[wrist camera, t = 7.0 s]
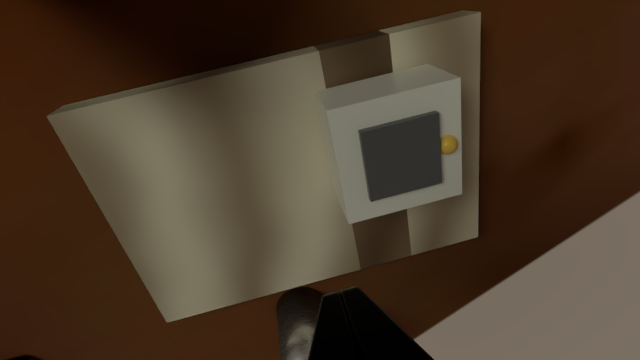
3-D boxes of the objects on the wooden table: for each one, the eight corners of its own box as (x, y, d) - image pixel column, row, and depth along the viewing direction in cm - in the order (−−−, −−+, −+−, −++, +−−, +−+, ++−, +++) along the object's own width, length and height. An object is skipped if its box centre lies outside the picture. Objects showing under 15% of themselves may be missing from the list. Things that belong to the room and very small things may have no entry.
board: (172, 302, 22) (167, 322, 20) (63, 105, 16) (46, 116, 14) (464, 222, 23) (478, 237, 21) (462, 10, 17) (480, 12, 15)
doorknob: (279, 332, 24) (291, 463, 17) (264, 292, 22) (271, 421, 16) (332, 317, 24) (364, 440, 18) (322, 277, 23) (353, 397, 16)
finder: (335, 192, 18) (351, 229, 15) (314, 91, 16) (328, 114, 13) (433, 166, 18) (466, 198, 15) (427, 63, 16) (466, 79, 13)
